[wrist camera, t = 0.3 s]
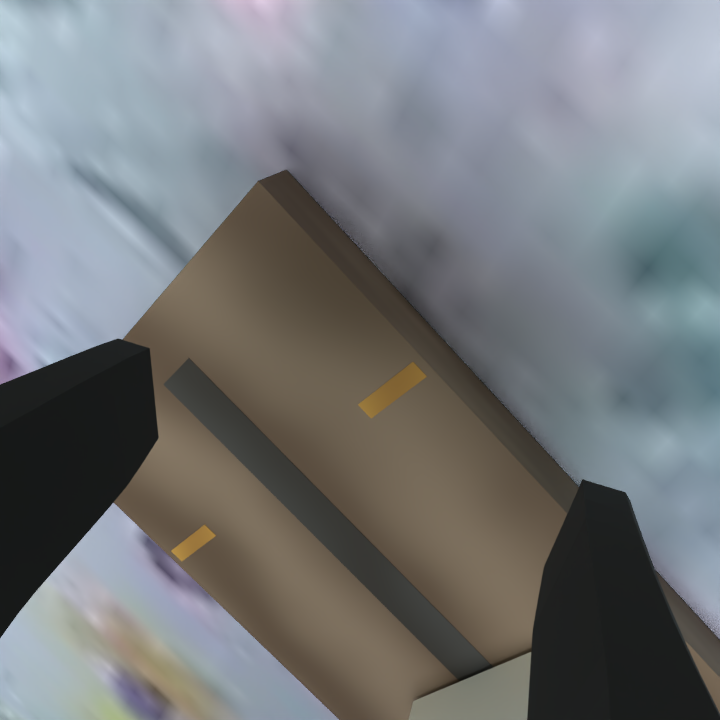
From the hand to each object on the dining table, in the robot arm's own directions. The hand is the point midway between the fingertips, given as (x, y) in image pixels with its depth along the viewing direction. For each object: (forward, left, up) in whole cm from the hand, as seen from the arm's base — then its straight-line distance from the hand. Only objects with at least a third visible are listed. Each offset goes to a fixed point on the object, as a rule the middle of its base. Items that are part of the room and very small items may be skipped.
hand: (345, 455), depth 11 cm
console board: (-9, -5, -10) cm, 15 cm away
